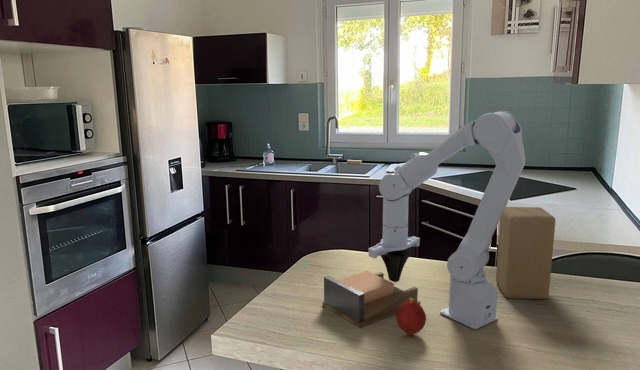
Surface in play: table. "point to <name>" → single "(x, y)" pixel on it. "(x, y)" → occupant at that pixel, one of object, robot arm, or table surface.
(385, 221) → the robot arm
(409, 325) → the red pomegranate
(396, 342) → the table surface
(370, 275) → the tile
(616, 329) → the table surface
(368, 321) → the track
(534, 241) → the wooden block
